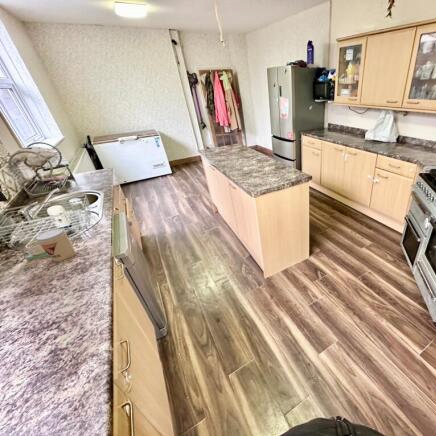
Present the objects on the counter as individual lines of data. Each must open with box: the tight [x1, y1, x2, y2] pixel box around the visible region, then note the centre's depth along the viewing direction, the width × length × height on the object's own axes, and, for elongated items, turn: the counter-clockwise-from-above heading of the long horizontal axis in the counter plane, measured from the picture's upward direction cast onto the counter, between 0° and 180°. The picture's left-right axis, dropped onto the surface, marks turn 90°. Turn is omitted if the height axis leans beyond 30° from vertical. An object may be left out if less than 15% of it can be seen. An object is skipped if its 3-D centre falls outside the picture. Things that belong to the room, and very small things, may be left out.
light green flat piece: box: [25, 252, 50, 261], centre depth 108 cm, size 12×10×3 cm
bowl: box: [24, 239, 46, 255], centre depth 105 cm, size 7×7×4 cm
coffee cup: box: [35, 227, 76, 262], centre depth 102 cm, size 9×9×12 cm
